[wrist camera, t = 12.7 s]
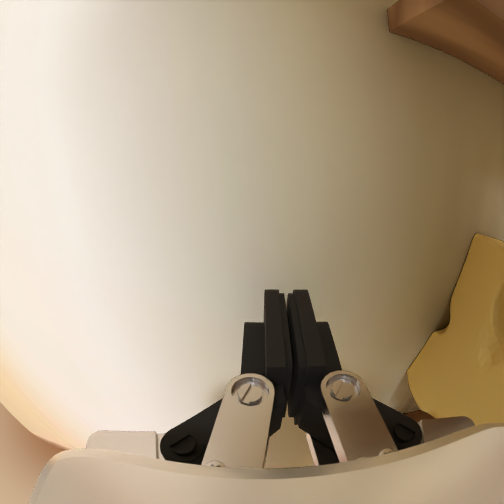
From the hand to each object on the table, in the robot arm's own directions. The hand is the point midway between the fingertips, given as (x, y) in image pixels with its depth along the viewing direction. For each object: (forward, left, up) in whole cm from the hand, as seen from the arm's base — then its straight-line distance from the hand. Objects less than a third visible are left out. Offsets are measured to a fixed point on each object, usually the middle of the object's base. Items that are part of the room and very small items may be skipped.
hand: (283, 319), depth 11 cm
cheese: (+1, +14, -2) cm, 14 cm away
